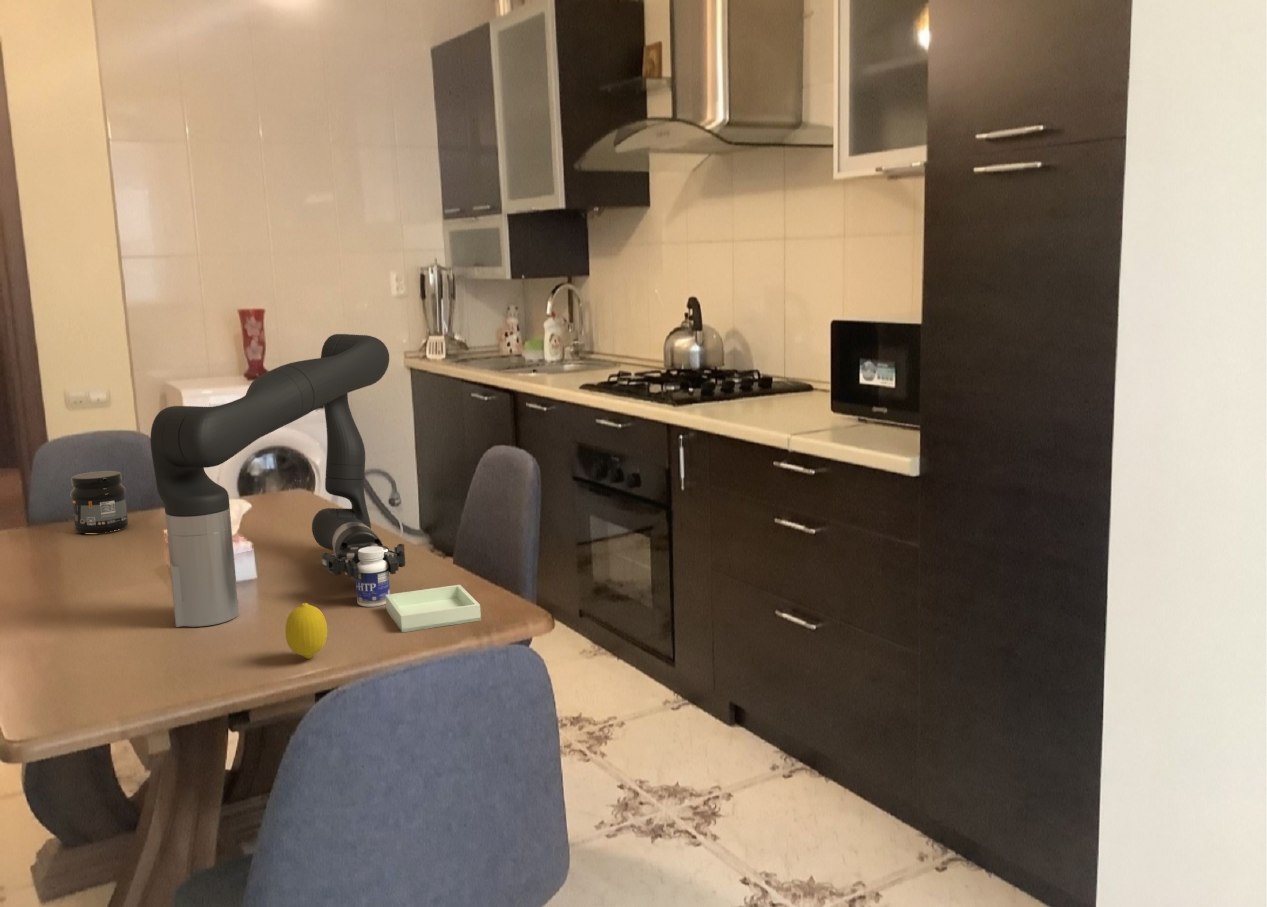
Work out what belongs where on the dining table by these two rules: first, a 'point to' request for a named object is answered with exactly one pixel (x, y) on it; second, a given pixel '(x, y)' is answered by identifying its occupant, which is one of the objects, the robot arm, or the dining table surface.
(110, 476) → the supplement container
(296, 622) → the lemon
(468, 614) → the tray
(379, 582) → the pill bottle
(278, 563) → the dining table surface
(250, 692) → the dining table surface
